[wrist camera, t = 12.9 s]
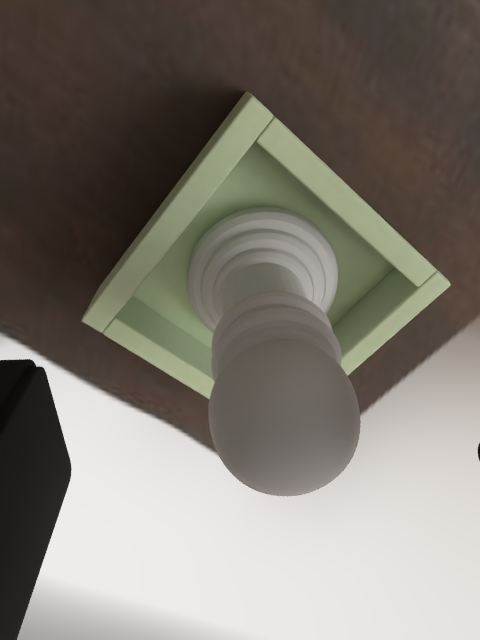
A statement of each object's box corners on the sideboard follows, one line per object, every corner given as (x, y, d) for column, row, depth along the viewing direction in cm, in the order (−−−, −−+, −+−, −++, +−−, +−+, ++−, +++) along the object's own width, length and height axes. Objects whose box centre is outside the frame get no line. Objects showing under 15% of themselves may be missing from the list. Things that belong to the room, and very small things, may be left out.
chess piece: (213, 353, 18) (209, 578, 10) (165, 228, 15) (109, 399, 7) (345, 318, 17) (451, 527, 9) (319, 183, 15) (434, 314, 7)
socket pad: (99, 287, 17) (80, 321, 15) (246, 90, 14) (252, 94, 12) (268, 397, 20) (274, 440, 18) (421, 255, 17) (453, 284, 14)
